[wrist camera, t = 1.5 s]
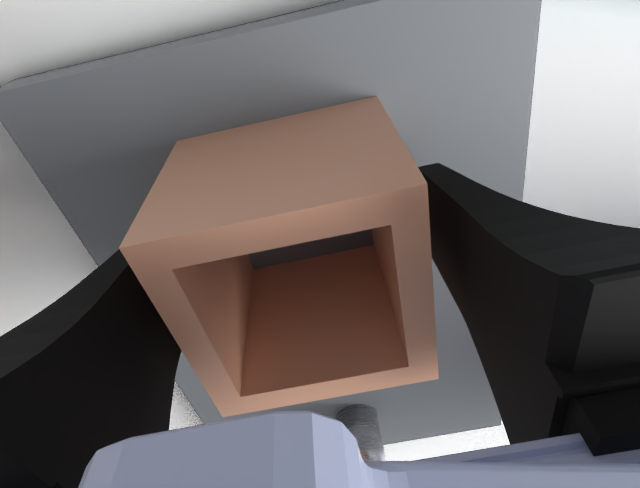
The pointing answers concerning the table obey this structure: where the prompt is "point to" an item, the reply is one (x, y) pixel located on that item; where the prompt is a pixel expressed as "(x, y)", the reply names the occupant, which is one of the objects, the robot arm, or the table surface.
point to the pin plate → (288, 99)
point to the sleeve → (296, 276)
